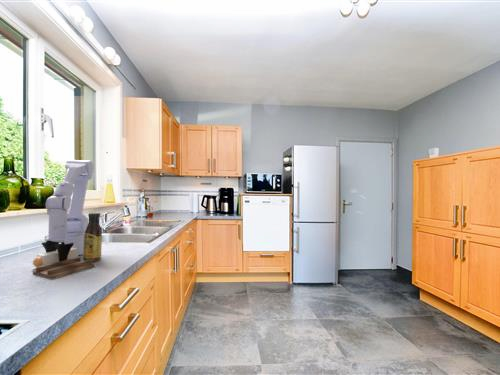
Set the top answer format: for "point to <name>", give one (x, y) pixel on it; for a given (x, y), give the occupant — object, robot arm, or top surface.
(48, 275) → the jig
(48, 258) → the white post with dome
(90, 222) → the sauce bottle
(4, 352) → the top surface
